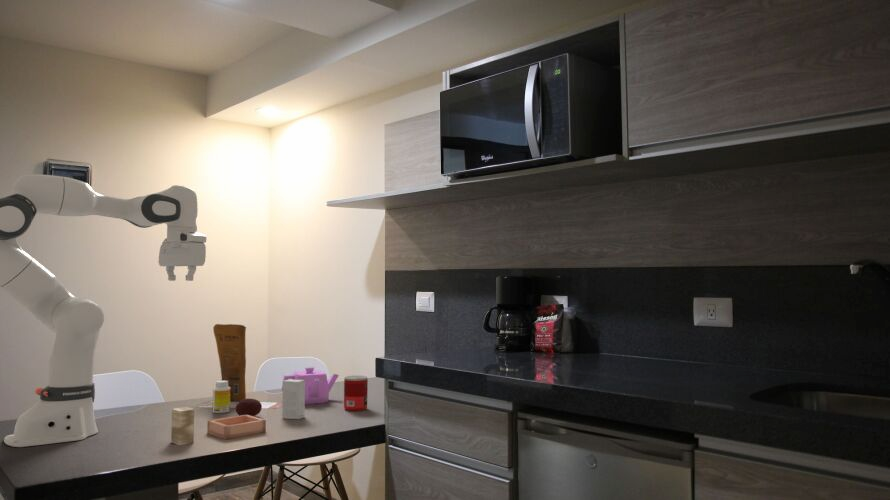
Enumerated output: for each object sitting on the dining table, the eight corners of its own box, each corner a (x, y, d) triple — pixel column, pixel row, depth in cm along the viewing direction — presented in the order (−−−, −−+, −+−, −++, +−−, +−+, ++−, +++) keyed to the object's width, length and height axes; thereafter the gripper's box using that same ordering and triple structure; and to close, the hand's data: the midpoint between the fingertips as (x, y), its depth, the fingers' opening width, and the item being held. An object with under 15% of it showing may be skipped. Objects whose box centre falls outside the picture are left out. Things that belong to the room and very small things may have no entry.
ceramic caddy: (225, 439, 180) (226, 426, 180) (207, 432, 187) (207, 420, 188) (265, 432, 189) (265, 420, 189) (246, 426, 196) (246, 414, 197)
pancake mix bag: (236, 403, 233) (237, 325, 234) (210, 396, 245) (211, 323, 247) (253, 401, 238) (254, 324, 239) (226, 394, 250) (227, 322, 252)
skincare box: (305, 417, 210) (305, 379, 211) (298, 419, 206) (299, 381, 206) (288, 415, 212) (288, 379, 212) (281, 418, 207) (282, 380, 208)
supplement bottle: (232, 412, 217) (233, 381, 218) (216, 414, 214) (216, 383, 214) (226, 409, 221) (227, 379, 222) (210, 411, 218) (210, 381, 218)
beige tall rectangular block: (179, 445, 173) (179, 411, 174) (171, 442, 177) (172, 408, 177) (193, 442, 176) (194, 409, 177) (185, 439, 180) (186, 406, 180)
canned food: (369, 410, 221) (370, 378, 222) (346, 412, 218) (347, 379, 219) (364, 406, 228) (364, 375, 229) (341, 407, 225) (342, 376, 226)
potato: (251, 420, 204) (252, 401, 205) (229, 418, 207) (230, 399, 207) (265, 416, 211) (265, 397, 212) (244, 414, 214) (244, 396, 214)
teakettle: (301, 395, 249) (302, 363, 250) (340, 398, 244) (341, 365, 244) (276, 403, 233) (276, 369, 234) (317, 406, 228) (318, 371, 228)
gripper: (154, 237, 209) (152, 280, 208) (192, 235, 197) (190, 280, 196) (172, 238, 214) (170, 280, 213) (209, 236, 202) (208, 280, 202)
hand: (180, 280), depth 205 cm, fingers open, 8 cm apart
